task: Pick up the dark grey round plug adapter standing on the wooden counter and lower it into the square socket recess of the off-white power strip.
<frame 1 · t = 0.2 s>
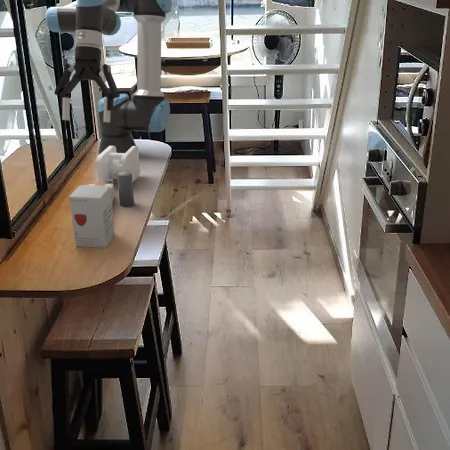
hand: (86, 121, 180), 28 cm above the table, tool tilted 20°, fingers open, 13 cm apart
power strip: (96, 210, 189), on the table
plug: (127, 204, 193), on the table
supplement box: (95, 241, 170), on the table
cable organizer: (120, 183, 211), on the table
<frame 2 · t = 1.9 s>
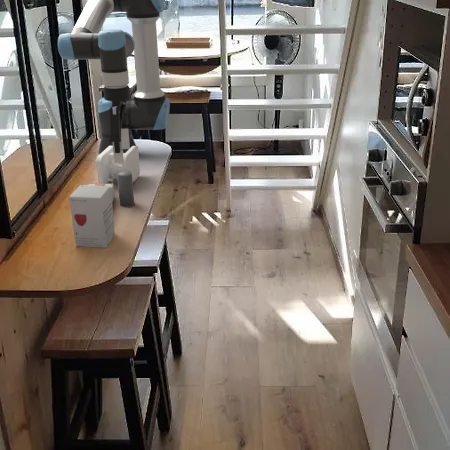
hand: (122, 155, 186), 16 cm above the table, tool pointing down, fingers open, 13 cm apart
nothing on the table moved.
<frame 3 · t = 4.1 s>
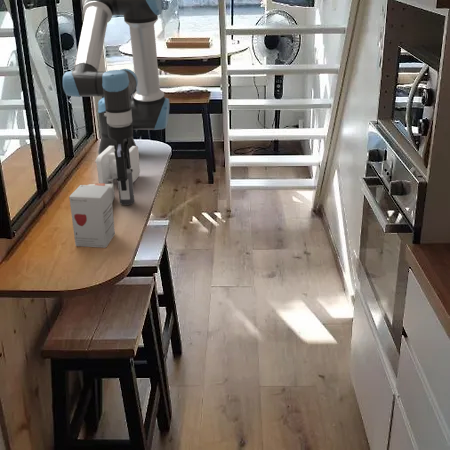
hand: (126, 195, 192), 3 cm above the table, tool pointing down, fingers closed on plug, 4 cm apart
plug: (127, 201, 193), point 1 cm above the table, touching gripper
everything else where it was.
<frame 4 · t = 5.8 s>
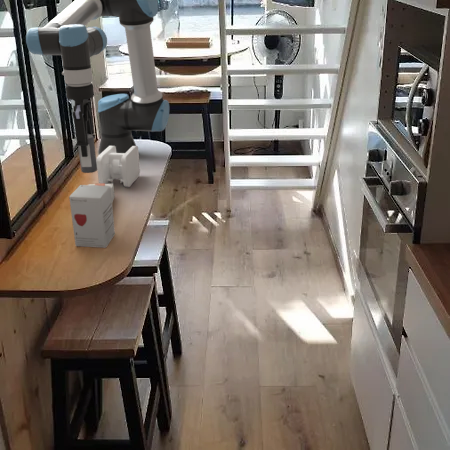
hand: (88, 163, 178), 17 cm above the table, tool pointing down, fingers closed on plug, 4 cm apart
plug: (89, 170, 179), point 15 cm above the table, touching gripper
everything else where it was.
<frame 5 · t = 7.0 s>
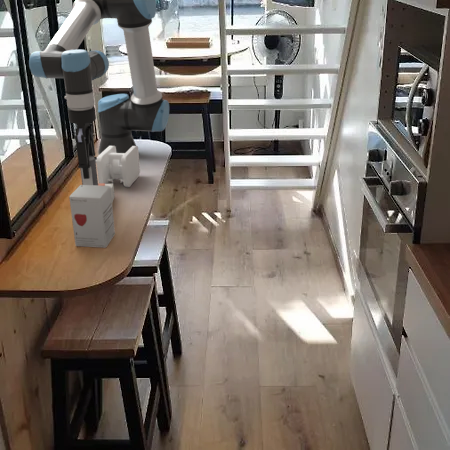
hand: (90, 184, 181), 10 cm above the table, tool pointing down, fingers closed on plug, 4 cm apart
plug: (91, 191, 182), point 8 cm above the table, touching gripper
everything else where it was.
when the fingers open (6 cm above the table, at t = 8.1 s): plug drops 2 cm, resting on power strip.
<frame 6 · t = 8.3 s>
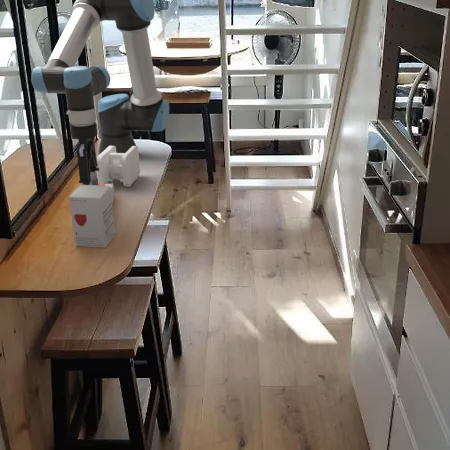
hand: (91, 197, 183), 6 cm above the table, tool pointing down, fingers open, 7 cm apart
plug: (93, 210, 184), point 2 cm above the table, touching power strip
everything else where it was.
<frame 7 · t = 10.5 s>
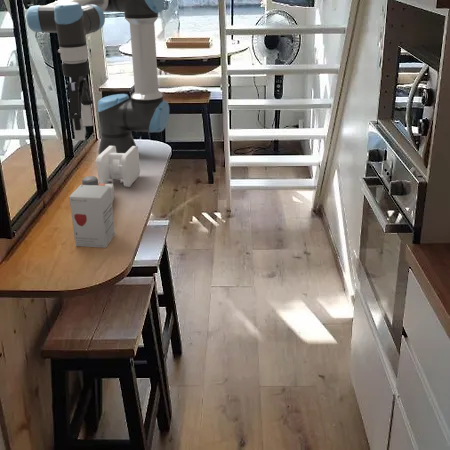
hand: (84, 132, 182), 24 cm above the table, tool pointing down, fingers open, 13 cm apart
nothing on the table moved.
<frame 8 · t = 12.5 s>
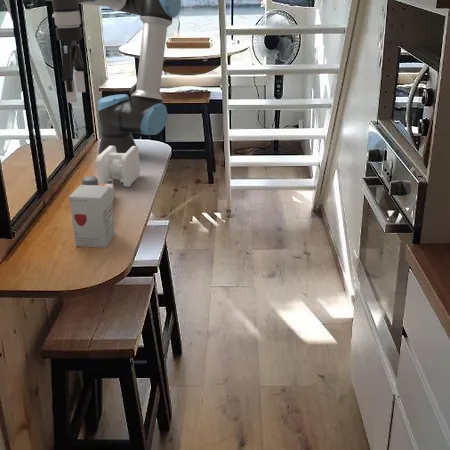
hand: (76, 97, 190), 32 cm above the table, tool pointing down, fingers open, 13 cm apart
nothing on the table moved.
at the end: plug 0.1 cm from the target spot, point 1.6 cm above the table; plug tilted 0°; the gripper is holding nothing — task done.
